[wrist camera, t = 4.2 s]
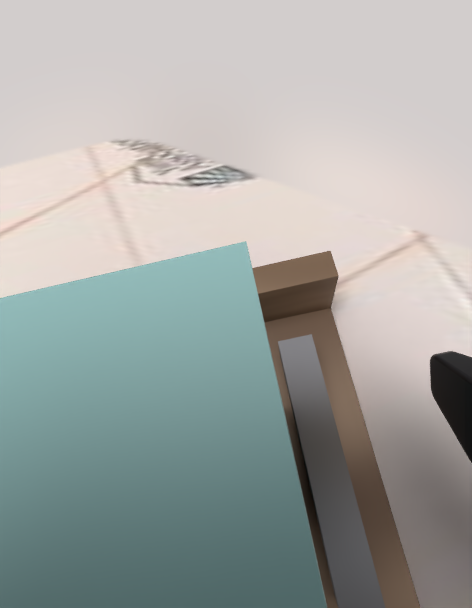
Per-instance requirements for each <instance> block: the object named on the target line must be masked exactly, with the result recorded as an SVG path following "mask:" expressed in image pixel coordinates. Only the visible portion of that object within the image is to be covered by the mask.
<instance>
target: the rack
mask: <svg viewBox="0 0 472 608" xmlns="http://www.w3.org/2000/svg"><path fill="white" fill-rule="evenodd" d="M252 269H253V274H254V278H255V283H256V287H257V292H258V296H259V301H260V305H261V309H262V314H263V318H264V323H265V327H266V332H267V336H268V341H269V345H270V349H271V354H272V358H273V363H274V367H275V372H276V376H277V381H278V385H279V389H280V394H281V398H282V403H283V407H284V412H285V416H286V421H287V425H288V430H289V434H290V439H291V444H292V448H293V453H294V457H295V462H296V466H297V471H298V475H299V480H300V484H301V489H302V494H303V498H304V503H305V507H306V512H307V516H308V521H309V525H310V530H311V535H312V539H313V544H314V548H315V553H316V558H317V562H318V567H319V571H320V576H321V581H322V585H323V590H324V594H325V599H326V604H327V608H420V605H419V602H418V598H417V595H416V592H415V588H414V585H413V582H412V578H411V575H410V572H409V568H408V565H407V562H406V558H405V555H404V552H403V548H402V545H401V542H400V538H399V535H398V532H397V528H396V525H395V522H394V518H393V515H392V512H391V508H390V505H389V502H388V498H387V495H386V492H385V488H384V485H383V482H382V478H381V475H380V472H379V468H378V465H377V462H376V458H375V455H374V451H373V448H372V445H371V441H370V438H369V435H368V431H367V428H366V425H365V421H364V418H363V415H362V411H361V408H360V405H359V401H358V398H357V395H356V391H355V388H354V385H353V381H352V378H351V375H350V371H349V368H348V365H347V361H346V358H345V355H344V351H343V348H342V345H341V341H340V338H339V335H338V331H337V328H336V325H335V321H334V318H333V315H332V311H331V304H332V300H333V296H334V292H335V288H336V284H337V280H338V273H337V270H336V267H335V264H334V260H333V257H332V254H331V251H327V252H322V253H318V254H313V255H309V256H305V257H300V258H296V259H291V260H287V261H282V262H278V263H274V264H269V265H265V266H260V267H256V268H252Z"/></svg>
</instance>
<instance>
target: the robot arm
mask: <svg viewBox="0 0 472 608" xmlns="http://www.w3.org/2000/svg"><path fill="white" fill-rule="evenodd" d="M430 376H431V391H432V394H433V397H434V399H435V401H436V402H437V404H438V406H439V408H440V409H441V411H442V413H443V415H444V416H445V418H446V420H447V422H448V423H449V425H450V427H451V428H452V430H453V432H454V434H455V435H456V437H457V439H458V441H459V442H460V444H461V446H462V448H463V449H464V451H465V453H466V454H467V456H468V458H469V459H470V461H471V463H472V357H469V356H466V355H463V354H459V353H456V352H453V351H449V352H444V353H439V354H434V355H433V356H432V357H431V359H430Z"/></svg>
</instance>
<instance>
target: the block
mask: <svg viewBox="0 0 472 608" xmlns="http://www.w3.org/2000/svg"><path fill="white" fill-rule="evenodd" d="M0 608H327V604H326V599H325V594H324V590H323V585H322V581H321V576H320V571H319V567H318V562H317V558H316V553H315V548H314V544H313V539H312V535H311V530H310V525H309V521H308V516H307V512H306V507H305V503H304V498H303V494H302V489H301V484H300V480H299V475H298V471H297V466H296V462H295V457H294V453H293V448H292V444H291V439H290V434H289V430H288V425H287V421H286V416H285V412H284V407H283V403H282V398H281V394H280V389H279V385H278V381H277V376H276V372H275V367H274V363H273V358H272V354H271V349H270V345H269V341H268V336H267V332H266V327H265V323H264V318H263V314H262V309H261V305H260V301H259V296H258V292H257V287H256V283H255V278H254V274H253V269H252V265H251V261H250V256H249V252H248V247H247V243H246V242H241V243H237V244H233V245H229V246H224V247H220V248H216V249H211V250H207V251H203V252H198V253H194V254H190V255H185V256H181V257H177V258H172V259H168V260H164V261H159V262H155V263H151V264H146V265H142V266H138V267H133V268H129V269H125V270H120V271H116V272H112V273H107V274H103V275H99V276H94V277H90V278H86V279H81V280H77V281H73V282H68V283H64V284H60V285H55V286H51V287H47V288H42V289H38V290H34V291H29V292H25V293H21V294H16V295H12V296H8V297H3V298H0Z"/></svg>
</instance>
